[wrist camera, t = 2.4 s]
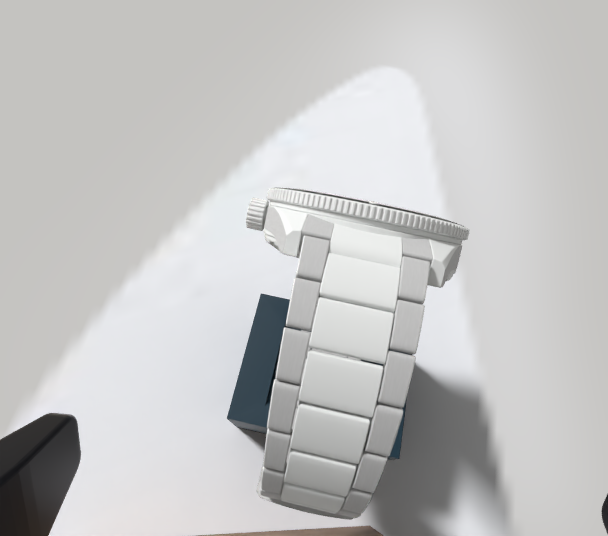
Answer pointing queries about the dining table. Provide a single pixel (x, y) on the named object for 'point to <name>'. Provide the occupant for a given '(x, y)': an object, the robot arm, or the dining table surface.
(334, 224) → the watch
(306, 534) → the plinth
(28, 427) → the robot arm
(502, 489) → the dining table surface
